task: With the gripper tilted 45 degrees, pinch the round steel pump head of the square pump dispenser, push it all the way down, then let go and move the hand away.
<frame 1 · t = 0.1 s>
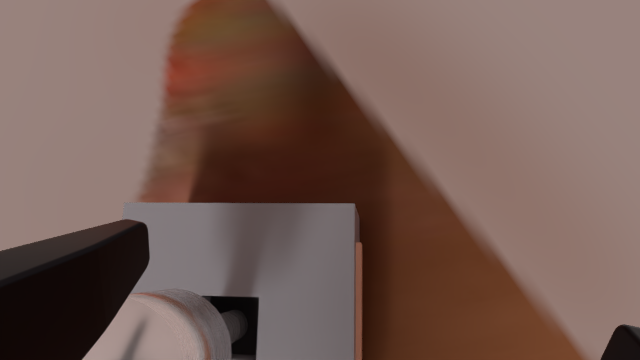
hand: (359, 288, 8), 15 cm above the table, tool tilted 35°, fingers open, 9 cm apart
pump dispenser: (265, 310, 23), on the table
pump plunger: (190, 344, 14), point 10 cm above the table, slide at 0.0 cm
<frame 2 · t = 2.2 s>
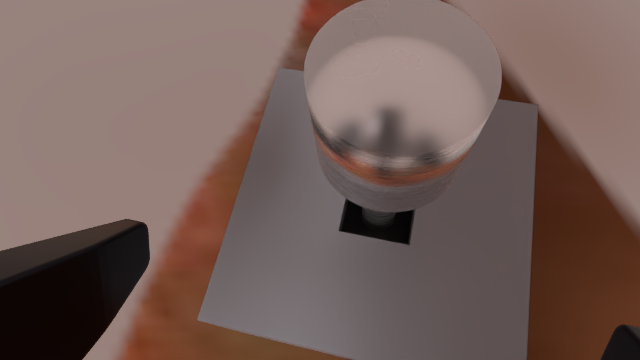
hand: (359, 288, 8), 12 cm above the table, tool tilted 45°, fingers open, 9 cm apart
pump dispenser: (373, 248, 20), on the table
pump plunger: (385, 166, 12), point 9 cm above the table, slide at 0.5 cm
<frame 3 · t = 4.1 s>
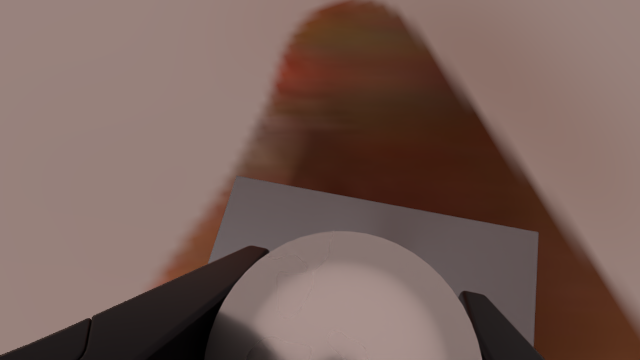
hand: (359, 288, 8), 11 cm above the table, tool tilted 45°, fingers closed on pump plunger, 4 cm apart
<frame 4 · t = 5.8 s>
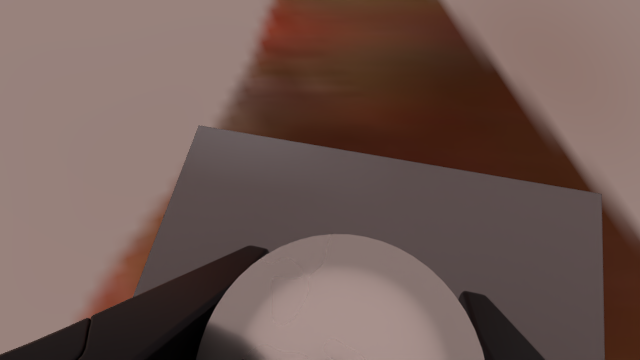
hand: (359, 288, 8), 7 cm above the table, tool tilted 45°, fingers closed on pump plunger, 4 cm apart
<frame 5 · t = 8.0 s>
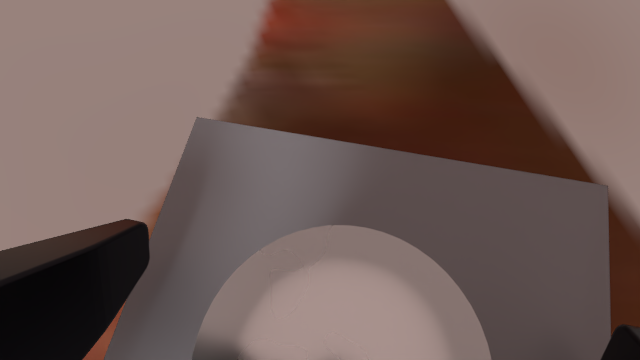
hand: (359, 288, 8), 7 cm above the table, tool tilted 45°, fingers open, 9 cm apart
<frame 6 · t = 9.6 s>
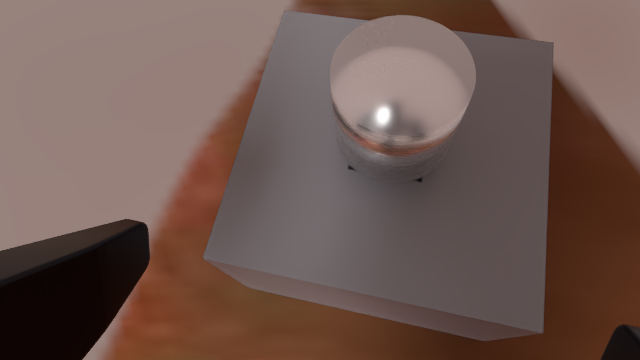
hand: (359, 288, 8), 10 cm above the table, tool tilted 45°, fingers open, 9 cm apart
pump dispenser: (381, 202, 20), on the table
pump plunger: (389, 149, 15), point 6 cm above the table, slide at 4.1 cm
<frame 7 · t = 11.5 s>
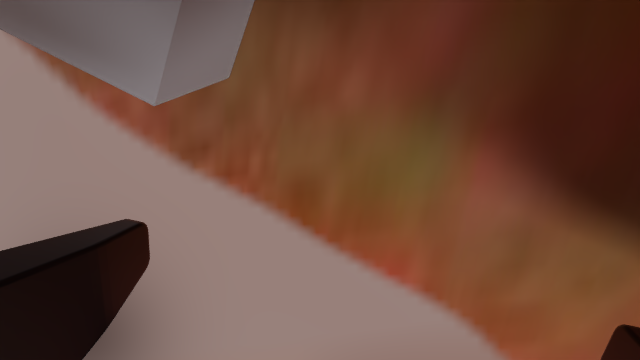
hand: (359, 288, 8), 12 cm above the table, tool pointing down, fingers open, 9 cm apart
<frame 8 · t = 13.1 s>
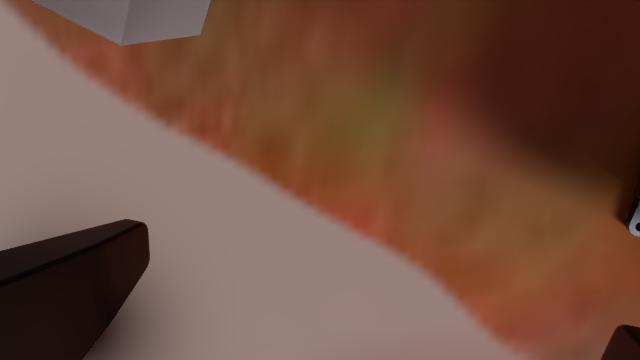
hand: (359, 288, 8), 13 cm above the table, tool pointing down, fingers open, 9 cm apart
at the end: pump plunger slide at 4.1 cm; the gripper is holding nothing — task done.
